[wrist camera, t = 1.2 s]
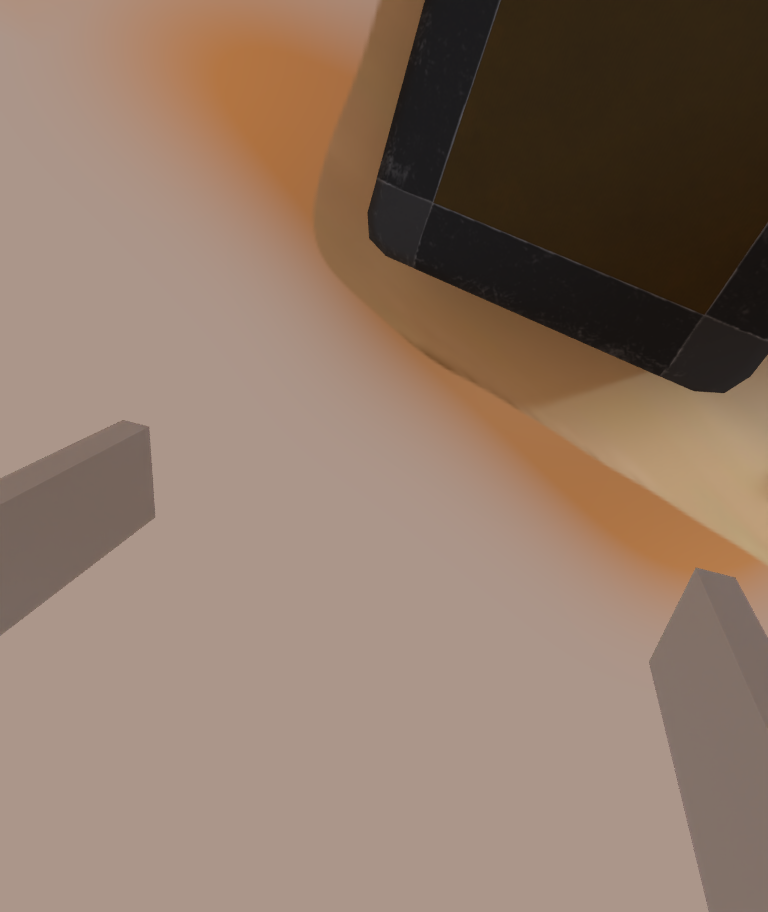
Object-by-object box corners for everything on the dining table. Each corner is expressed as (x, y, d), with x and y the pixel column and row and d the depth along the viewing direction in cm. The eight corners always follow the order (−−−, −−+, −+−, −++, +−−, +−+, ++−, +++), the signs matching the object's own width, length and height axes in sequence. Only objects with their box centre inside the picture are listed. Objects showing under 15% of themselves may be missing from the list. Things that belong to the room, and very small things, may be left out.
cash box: (717, 367, 30) (742, 418, 24) (404, 233, 33) (353, 246, 27) (1233, -331, 16) (1616, -651, 10) (616, -442, 20) (614, -736, 13)
